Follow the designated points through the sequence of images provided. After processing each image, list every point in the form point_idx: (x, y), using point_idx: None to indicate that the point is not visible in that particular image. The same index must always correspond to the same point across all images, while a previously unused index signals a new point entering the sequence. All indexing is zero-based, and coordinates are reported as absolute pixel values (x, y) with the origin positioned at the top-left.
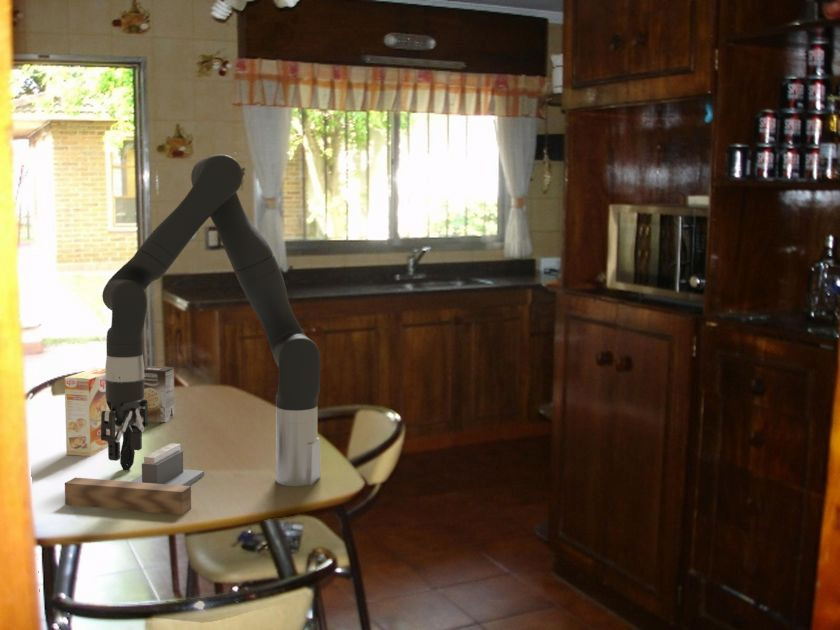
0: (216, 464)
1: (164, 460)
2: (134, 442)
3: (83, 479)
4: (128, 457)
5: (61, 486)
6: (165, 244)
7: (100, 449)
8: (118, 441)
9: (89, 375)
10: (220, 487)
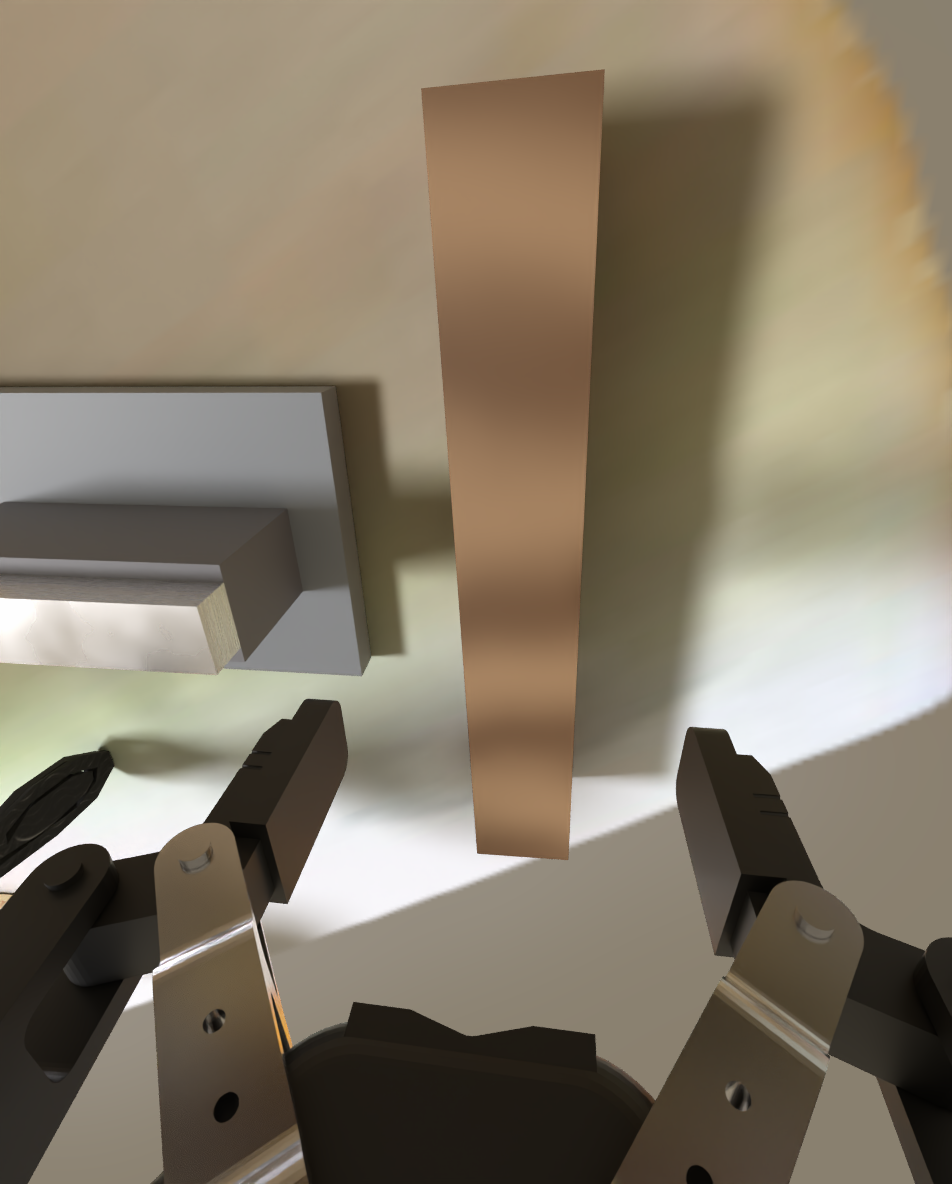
0: None
1: (113, 563)
2: (319, 786)
3: (495, 817)
4: (57, 792)
5: (373, 861)
6: None
7: (3, 901)
8: (798, 892)
9: None
10: (10, 171)
